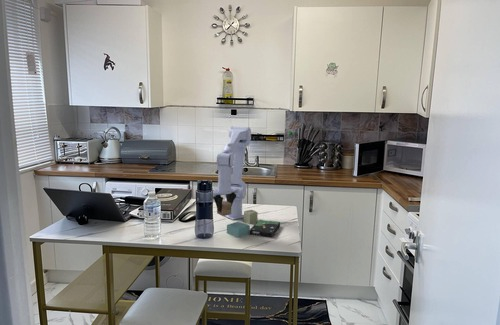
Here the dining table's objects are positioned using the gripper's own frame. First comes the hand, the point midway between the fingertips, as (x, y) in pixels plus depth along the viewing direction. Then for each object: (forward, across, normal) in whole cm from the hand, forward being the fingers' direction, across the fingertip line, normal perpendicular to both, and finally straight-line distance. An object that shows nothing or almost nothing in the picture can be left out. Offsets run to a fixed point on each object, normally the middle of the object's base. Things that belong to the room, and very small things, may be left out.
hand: (224, 210), depth 168 cm
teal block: (+9, +2, -8) cm, 12 cm away
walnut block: (+2, 0, 0) cm, 2 cm away
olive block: (+8, +16, +1) cm, 18 cm away
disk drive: (+9, +14, -12) cm, 21 cm away
